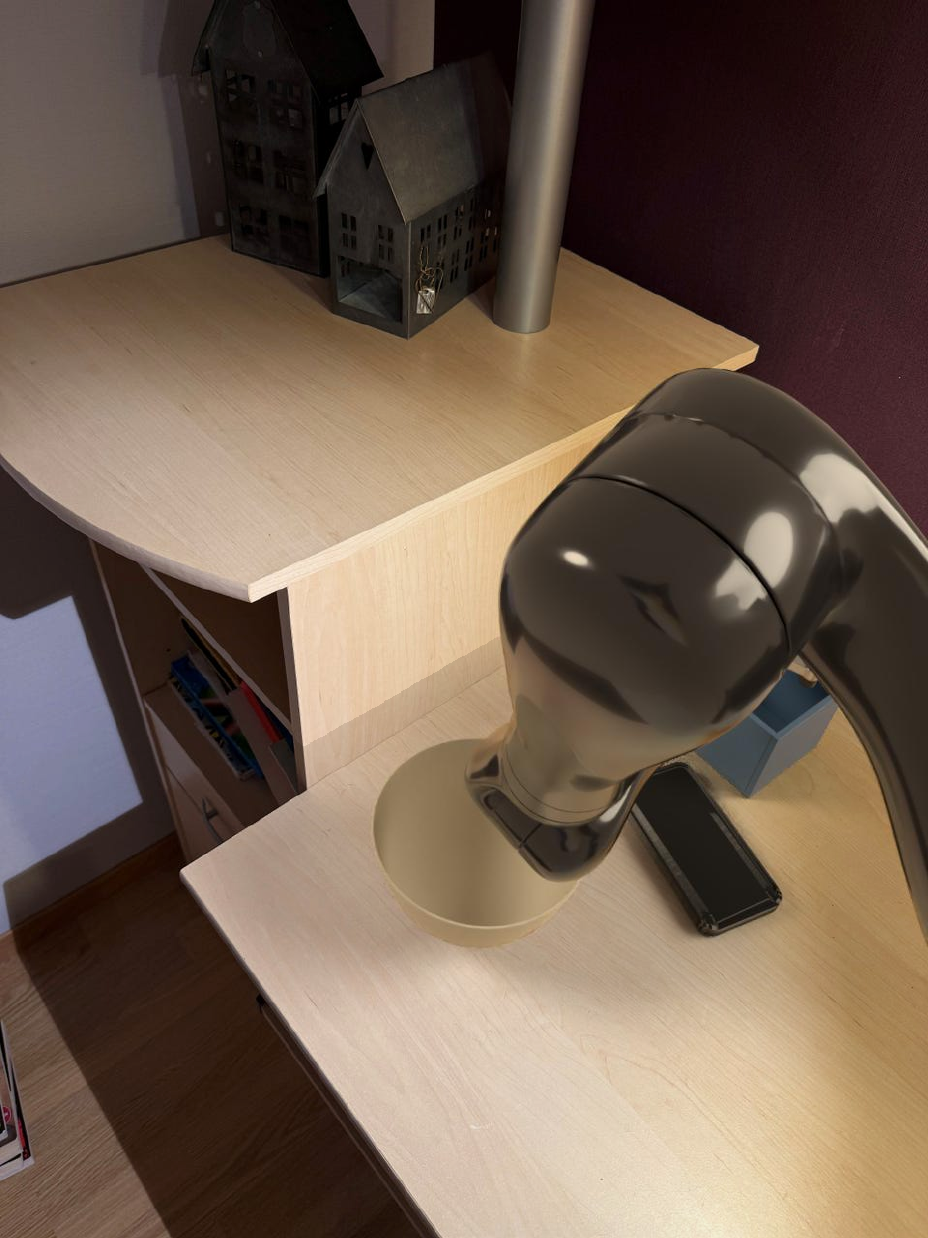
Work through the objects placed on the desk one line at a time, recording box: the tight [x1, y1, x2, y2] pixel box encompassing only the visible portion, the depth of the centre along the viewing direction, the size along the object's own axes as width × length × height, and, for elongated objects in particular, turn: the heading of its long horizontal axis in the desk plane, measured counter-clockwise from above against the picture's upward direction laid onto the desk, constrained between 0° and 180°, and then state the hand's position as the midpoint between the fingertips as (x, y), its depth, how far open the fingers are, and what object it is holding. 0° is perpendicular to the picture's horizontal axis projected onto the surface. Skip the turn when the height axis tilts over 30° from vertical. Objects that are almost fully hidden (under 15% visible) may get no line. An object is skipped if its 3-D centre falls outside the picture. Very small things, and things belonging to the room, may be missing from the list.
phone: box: [627, 761, 784, 938], centre depth 77 cm, size 8×1×15 cm
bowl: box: [370, 736, 584, 949], centre depth 69 cm, size 16×16×10 cm
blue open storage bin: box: [693, 669, 839, 799], centre depth 84 cm, size 13×10×8 cm
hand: (804, 573), depth 76 cm, fingers closed on bottle, 5 cm apart
